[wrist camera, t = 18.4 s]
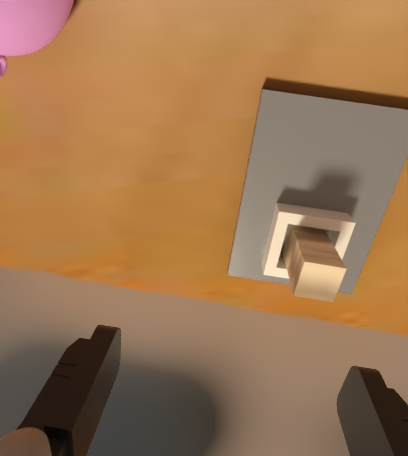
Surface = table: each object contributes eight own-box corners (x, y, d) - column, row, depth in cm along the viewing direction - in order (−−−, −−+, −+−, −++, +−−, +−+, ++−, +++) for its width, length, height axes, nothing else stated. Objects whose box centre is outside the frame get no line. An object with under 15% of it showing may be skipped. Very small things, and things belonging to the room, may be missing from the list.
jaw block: (290, 221, 43) (304, 261, 34) (323, 227, 43) (346, 268, 34) (281, 250, 45) (293, 295, 36) (313, 255, 45) (333, 302, 36)
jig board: (261, 88, 38) (265, 90, 34) (418, 110, 37) (440, 115, 33) (227, 269, 49) (227, 287, 45) (348, 287, 48) (358, 307, 44)
